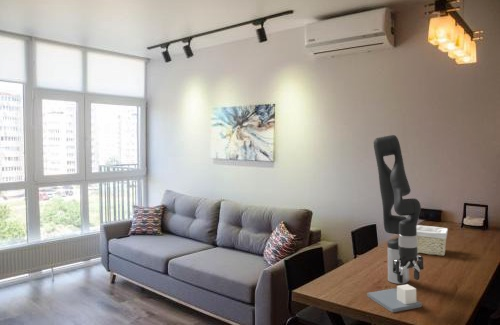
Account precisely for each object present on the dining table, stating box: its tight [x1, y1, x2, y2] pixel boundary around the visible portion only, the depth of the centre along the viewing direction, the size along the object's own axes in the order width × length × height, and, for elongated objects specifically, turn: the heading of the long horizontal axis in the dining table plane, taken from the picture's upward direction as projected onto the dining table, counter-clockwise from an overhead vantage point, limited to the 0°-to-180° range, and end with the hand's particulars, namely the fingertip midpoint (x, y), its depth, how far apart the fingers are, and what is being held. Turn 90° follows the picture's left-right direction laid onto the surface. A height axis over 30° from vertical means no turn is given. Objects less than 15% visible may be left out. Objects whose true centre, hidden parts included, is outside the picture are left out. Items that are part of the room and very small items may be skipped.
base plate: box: [366, 287, 423, 313], centre depth 171 cm, size 15×18×2 cm
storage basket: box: [416, 224, 449, 256], centre depth 242 cm, size 24×16×15 cm
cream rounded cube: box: [396, 283, 417, 304], centre depth 168 cm, size 6×6×6 cm
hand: (408, 281), depth 167 cm, fingers open, 8 cm apart
